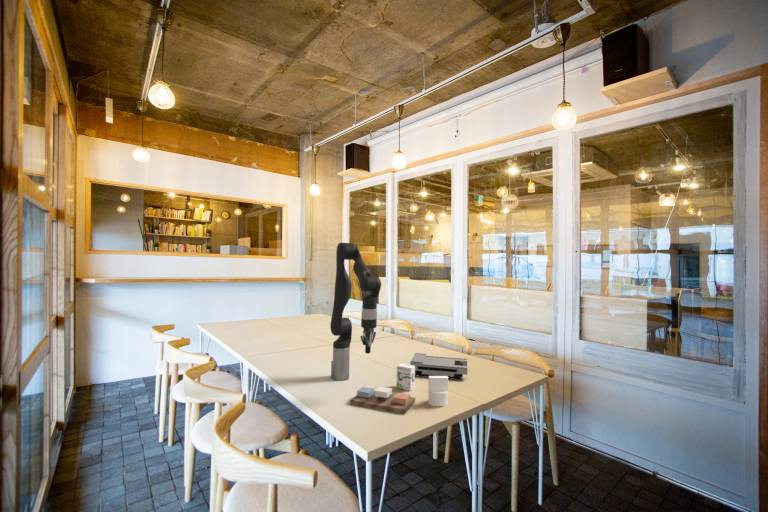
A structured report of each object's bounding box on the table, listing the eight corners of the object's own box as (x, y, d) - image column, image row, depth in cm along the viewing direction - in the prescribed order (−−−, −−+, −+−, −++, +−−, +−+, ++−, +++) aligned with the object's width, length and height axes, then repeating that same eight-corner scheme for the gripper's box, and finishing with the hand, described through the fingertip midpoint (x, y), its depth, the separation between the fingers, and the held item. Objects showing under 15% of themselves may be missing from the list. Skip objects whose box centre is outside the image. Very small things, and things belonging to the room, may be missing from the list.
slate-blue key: (356, 396, 167) (357, 390, 167) (362, 391, 172) (362, 386, 172) (368, 398, 165) (368, 392, 165) (374, 393, 170) (374, 388, 170)
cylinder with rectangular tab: (445, 399, 171) (445, 374, 171) (449, 406, 162) (450, 380, 162) (426, 399, 171) (427, 373, 171) (429, 406, 162) (430, 380, 162)
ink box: (395, 388, 185) (396, 365, 186) (400, 385, 190) (401, 363, 190) (410, 391, 181) (411, 367, 181) (415, 388, 185) (415, 365, 185)
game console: (467, 381, 199) (467, 366, 199) (410, 376, 206) (410, 362, 206) (466, 370, 219) (467, 357, 219) (414, 366, 226) (415, 353, 226)
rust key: (393, 402, 160) (393, 397, 160) (397, 397, 166) (397, 392, 166) (405, 404, 158) (405, 399, 158) (410, 400, 163) (410, 394, 163)
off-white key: (374, 395, 164) (374, 390, 164) (379, 391, 169) (379, 386, 169) (386, 398, 161) (387, 392, 161) (391, 393, 167) (391, 388, 167)
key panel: (350, 404, 163) (350, 396, 163) (364, 393, 177) (364, 386, 177) (404, 414, 153) (404, 406, 153) (415, 401, 167) (415, 394, 167)
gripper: (368, 314, 183) (366, 349, 183) (355, 318, 170) (354, 355, 170) (381, 316, 180) (380, 351, 180) (370, 320, 167) (368, 357, 167)
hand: (367, 353), depth 175 cm, fingers closed
